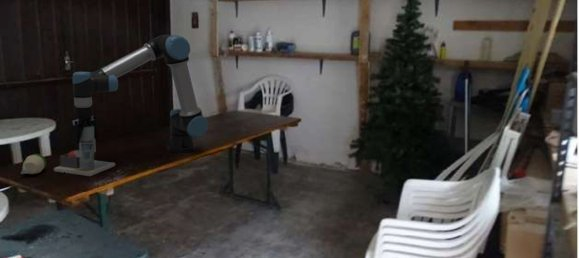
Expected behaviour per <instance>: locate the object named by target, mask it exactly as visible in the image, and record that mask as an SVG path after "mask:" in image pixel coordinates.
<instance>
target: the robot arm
mask: <svg viewBox="0 0 579 258" xmlns="http://www.w3.org/2000/svg"><path fill="white" fill-rule="evenodd" d="M190 52H191V45H190V43H189V40H188V39H186V38H185V37H183V36H181V35H178V34H160V35H158V36H156V37H155V38H152V39H151V40H149V41H148V42H146V43H144V44H143V46H142V47H140V48H138V49H135V50H133V52H131V53H128V54H127V55H125V56H123V57H121V58H118V59H117V60H115V61H112V62H111V63H109V64H108V65H106V66H103V67H101V68H99V69H98V70H95V71H90V72H89V71H76V72H74V73H72V82H71V83H72V90H73V103H74V104H73V105H74V116H76V117H75V118H76V119H74V120H71V122H70V124H71V132H70V143H72V144H73V145H74V151H76V157H82V150H81V143H80V139H81V135H82V131H83V129H84V127H85V126H94V153H96V152H97V151H96V150H97V149H96V144H97V143H96V142H97V141H96V140H97V139H99V138H98V137H99V135H100V134H99V130H98V129H99V128H98V124H97V116H96V115H93V107H92V105H93V99H92V96H93V95H92V93H94V94H95V93H108V92H109V93H111V92H116V91H117V90H118V89H119V80H118V78H120V77H122V76H124V75H125V74H127V73H129V72H131V71H133V70H135V69H136V68H138V67H140V66H143V65H144V64H146V63H148V62H149V61H154V62H155V61H156V60H158V59H162V58H164V61H165V64H166V66H168V67H170V71H171V75H172V79H173V83H174V87H175V91H176V95H177V98H178V103H179V107H180V108H175V109H171V110H170V114H169V123H170V128H169V129H170V131H169V132H170V137H169V139H168V144H167V151H168V152H172V153H177V154H178V152H181V153H182V152H184V153H191V152H194V151H196V144H195V140H194V138H200V137H202V136H203V135H205V134H206V132H207V131H208V128H209V121H208V119H207V118H206V117H205V116H203V112H202V108H200V107H198V104H197V100H196V95H195V90H194V87H193V84H192V83H193V82H192V80H191V75H190V70H189V66H188V62H189V60H190V57H189V56H190ZM79 126H80V127H79Z"/></svg>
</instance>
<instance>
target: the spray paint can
mask: <svg viewBox="0 0 579 258" xmlns="http://www.w3.org/2000/svg"><path fill="white" fill-rule="evenodd" d="M79 127H80V126H79ZM80 143H81V150H82V157H79V159H80V169H81V170H92V169H94V160H95V152H94V126H85V127H84V129H83V131H82V135H81V139H80Z"/></svg>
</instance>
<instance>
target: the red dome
mask: <svg viewBox="0 0 579 258" xmlns="http://www.w3.org/2000/svg"><path fill="white" fill-rule="evenodd" d="M68 153H69V154H68ZM68 153H67V154H68V156H67V157H73V158H78V157H76V151H75V150H71V151H70V152H68Z"/></svg>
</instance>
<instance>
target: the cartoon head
mask: <svg viewBox="0 0 579 258" xmlns="http://www.w3.org/2000/svg"><path fill="white" fill-rule="evenodd" d="M46 166H47V161H46V158H45V157H44V156H43V155H42V154H39V153H33V154H30V155H29V156H27V157H26V158H25V160H24V161H23V164H22V167H21V172H20V175H24V174H26V175H27V174H28V175H35V174H37V175H38V174H39V173H41V172H42V171H43V170H44V169H45V168H46Z"/></svg>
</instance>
